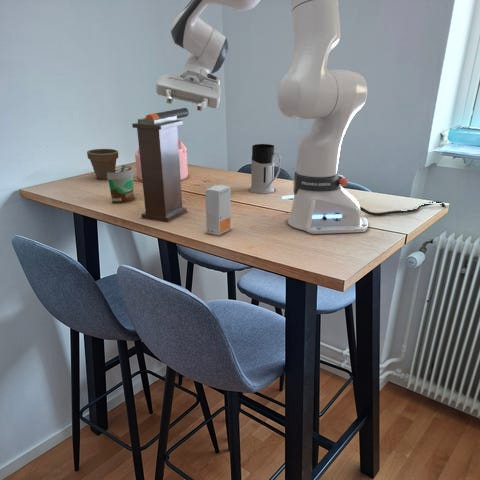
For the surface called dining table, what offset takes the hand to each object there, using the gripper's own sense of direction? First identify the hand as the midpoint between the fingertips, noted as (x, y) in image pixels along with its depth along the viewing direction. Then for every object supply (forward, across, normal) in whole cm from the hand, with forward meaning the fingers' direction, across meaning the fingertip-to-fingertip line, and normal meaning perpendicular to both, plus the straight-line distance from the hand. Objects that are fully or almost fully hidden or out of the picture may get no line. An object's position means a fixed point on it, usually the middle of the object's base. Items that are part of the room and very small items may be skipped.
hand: (184, 104), depth 143 cm
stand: (+29, +2, +19) cm, 34 cm away
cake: (-14, -8, +41) cm, 44 cm away
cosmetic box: (+40, +19, +9) cm, 45 cm away
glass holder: (0, +31, +25) cm, 40 cm away
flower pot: (-10, -30, +44) cm, 54 cm away
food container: (+16, -14, +28) cm, 35 cm away
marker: (+14, -2, -4) cm, 14 cm away
